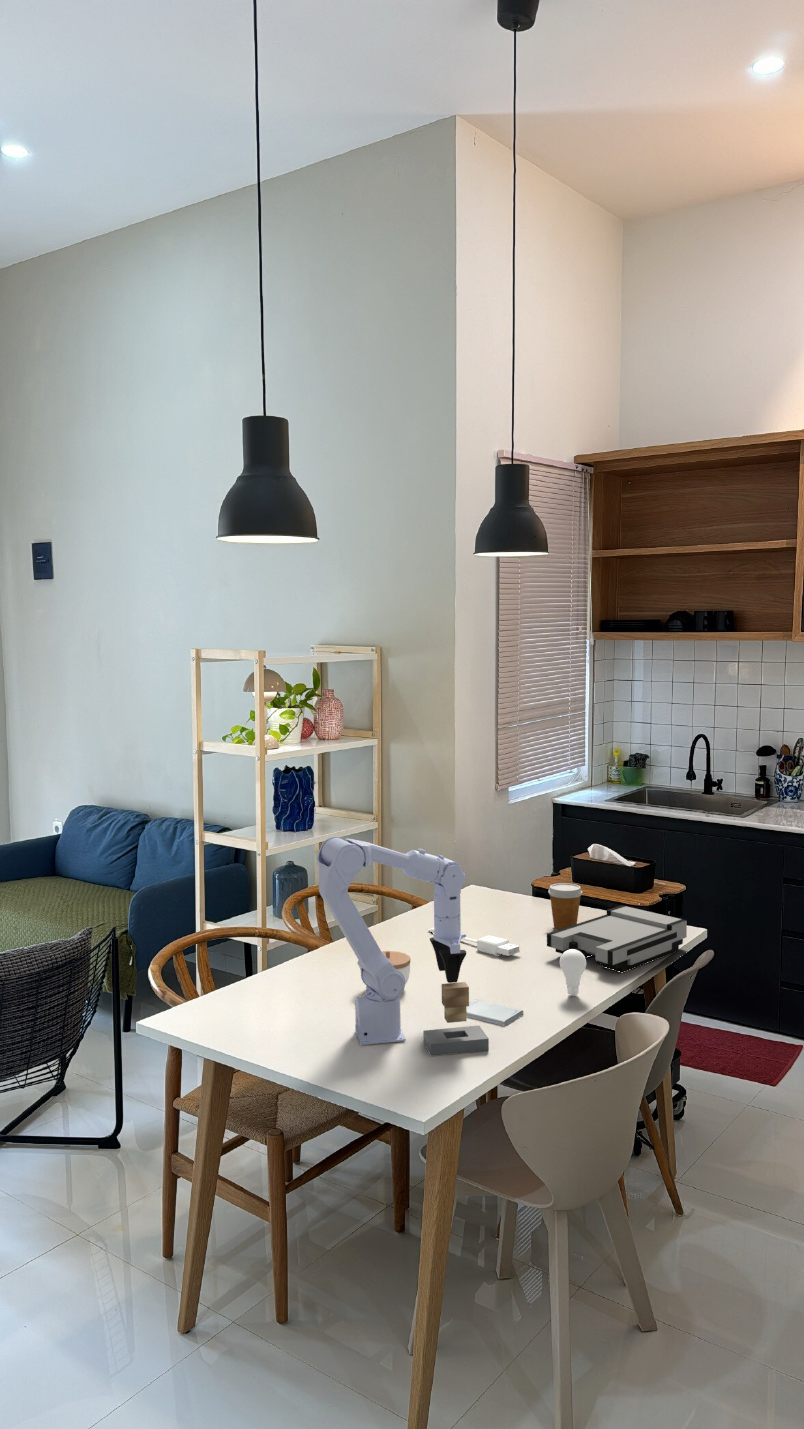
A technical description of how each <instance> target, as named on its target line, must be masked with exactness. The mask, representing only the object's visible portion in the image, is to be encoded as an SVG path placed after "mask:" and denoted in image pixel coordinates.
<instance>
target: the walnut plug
mask: <svg viewBox="0 0 804 1429" xmlns="http://www.w3.org/2000/svg"><path fill="white" fill-rule="evenodd" d="M469 1003H470V986H469V985H468V984H467V983H466V981H461V982H453V983H448V982H447V983H441V1004H442V1006H443V1007H444V1010H443V1011H444V1012H443V1013H444V1015H443V1016H444V1020H445V1021H446V1023H447V1024H450V1023H461V1022H462V1023H463V1022H467V1018H468V1017H467V1012H466V1006H469Z"/></svg>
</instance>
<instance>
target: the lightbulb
mask: <svg viewBox="0 0 804 1429" xmlns="http://www.w3.org/2000/svg"><path fill="white" fill-rule="evenodd" d="M586 959H587V958H586ZM586 959H585V956H584V955H583V954H582V953H581V952H580V951H578V950H576V949H569V950H567V951H565V952H564V953H563V954H561V955H560V958H559V966H560V969H561V971H562V973H563V975H564V977H565V984H566V989H567V990H566V991H567V994H568V995H570V996H571V997H576V996H577V995H578V994H579V986H580V985H581V979H582V975H583V973H584V972H585V969H586V968H587V960H586Z"/></svg>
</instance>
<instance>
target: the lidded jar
mask: <svg viewBox="0 0 804 1429" xmlns="http://www.w3.org/2000/svg"><path fill="white" fill-rule="evenodd" d="M382 953H383V954H384V955H385V956H386V957H387V959H388V960H389V961H390V962H391V964H392V965H393V967H394V968H395V969H397V970H398V971H400V972H401V973H402V974H403V975H404V978H405V986H406V984H407V983H408V981H409V978H410V973H411V957H410V955H409V954H407V953H404V952H400V951H390V950H386V951H382Z"/></svg>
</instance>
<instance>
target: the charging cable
mask: <svg viewBox="0 0 804 1429" xmlns="http://www.w3.org/2000/svg"><path fill="white" fill-rule="evenodd" d="M427 931H428V932H432V933H434V927H431V928H429V929H427ZM461 940H464V941H469V942H472V943H476V946H477V947H476V948H477V951H478V950H480V951H479V952H481V951H482V953H485V952H486V954H488V953H489V955H491V954H493V955H492V956H494V957H495V956H496V957H498V955H499V956H507V957H509V956H513V955H515V954H518V953H521V952H520V950H521V949H520V945H517V944H512V943H509V939H506V938H502V937H497V936H493V935H486V936H483V937H480V938H478V939H475V938H470V937H467V936H466V937H465V938H461ZM501 954H502V955H501Z"/></svg>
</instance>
